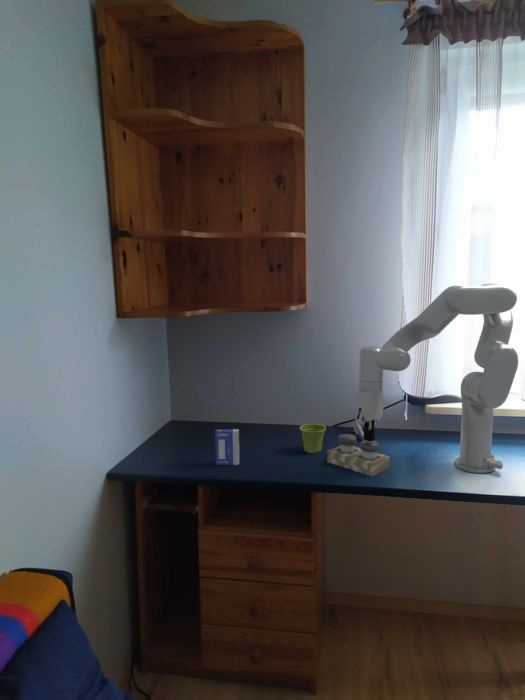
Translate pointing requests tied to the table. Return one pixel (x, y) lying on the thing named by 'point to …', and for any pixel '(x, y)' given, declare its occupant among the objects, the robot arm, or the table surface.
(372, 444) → the knob near
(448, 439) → the table surface
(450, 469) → the table surface
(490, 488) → the table surface
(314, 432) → the plant pot
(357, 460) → the mount
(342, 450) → the knob far
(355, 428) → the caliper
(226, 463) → the blue upright box
